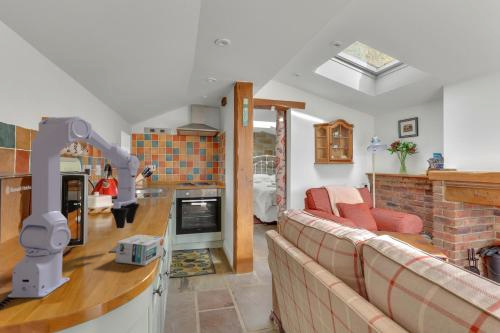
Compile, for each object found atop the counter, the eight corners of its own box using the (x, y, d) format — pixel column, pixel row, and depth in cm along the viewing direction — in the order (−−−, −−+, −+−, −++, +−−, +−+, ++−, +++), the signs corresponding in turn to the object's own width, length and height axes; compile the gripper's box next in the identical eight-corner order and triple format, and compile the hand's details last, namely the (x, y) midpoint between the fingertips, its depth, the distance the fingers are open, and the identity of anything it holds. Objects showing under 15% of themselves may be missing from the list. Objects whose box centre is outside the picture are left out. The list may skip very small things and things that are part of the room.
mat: (134, 252, 89) (134, 251, 89) (108, 252, 88) (108, 251, 88) (146, 242, 101) (146, 241, 101) (124, 242, 100) (124, 241, 100)
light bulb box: (114, 262, 79) (145, 266, 77) (116, 241, 79) (146, 244, 77) (136, 252, 89) (163, 255, 87) (137, 233, 89) (164, 236, 87)
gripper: (124, 186, 97) (123, 221, 97) (104, 189, 82) (103, 230, 82) (142, 186, 97) (141, 221, 97) (126, 189, 83) (124, 230, 83)
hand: (125, 225), depth 90 cm, fingers open, 7 cm apart
